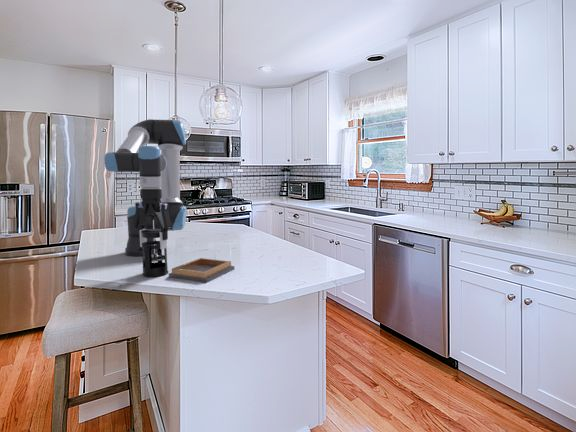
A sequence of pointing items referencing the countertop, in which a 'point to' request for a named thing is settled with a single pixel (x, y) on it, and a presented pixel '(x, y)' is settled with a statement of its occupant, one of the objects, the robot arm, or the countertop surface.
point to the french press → (156, 267)
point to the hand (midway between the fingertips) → (153, 247)
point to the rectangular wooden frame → (201, 270)
